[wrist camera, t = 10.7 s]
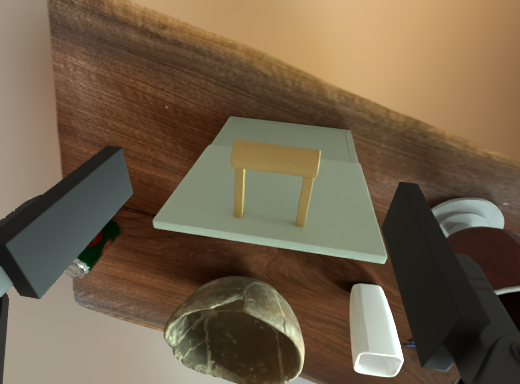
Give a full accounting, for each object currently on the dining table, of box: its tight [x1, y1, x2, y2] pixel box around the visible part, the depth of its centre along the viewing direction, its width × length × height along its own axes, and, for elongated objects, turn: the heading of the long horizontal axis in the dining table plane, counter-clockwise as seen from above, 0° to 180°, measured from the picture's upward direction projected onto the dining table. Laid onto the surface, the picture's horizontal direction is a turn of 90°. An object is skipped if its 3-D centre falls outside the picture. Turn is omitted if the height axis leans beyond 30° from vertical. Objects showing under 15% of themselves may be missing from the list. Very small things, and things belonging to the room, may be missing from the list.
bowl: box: [164, 276, 304, 384], centre depth 60 cm, size 28×27×15 cm
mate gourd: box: [431, 197, 520, 333], centre depth 41 cm, size 16×14×20 cm
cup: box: [350, 283, 403, 377], centre depth 55 cm, size 7×7×15 cm
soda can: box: [64, 220, 120, 279], centre depth 57 cm, size 5×5×12 cm
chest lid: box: [153, 140, 387, 264], centre depth 26 cm, size 15×18×7 cm
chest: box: [211, 116, 359, 164], centre depth 43 cm, size 14×18×10 cm
